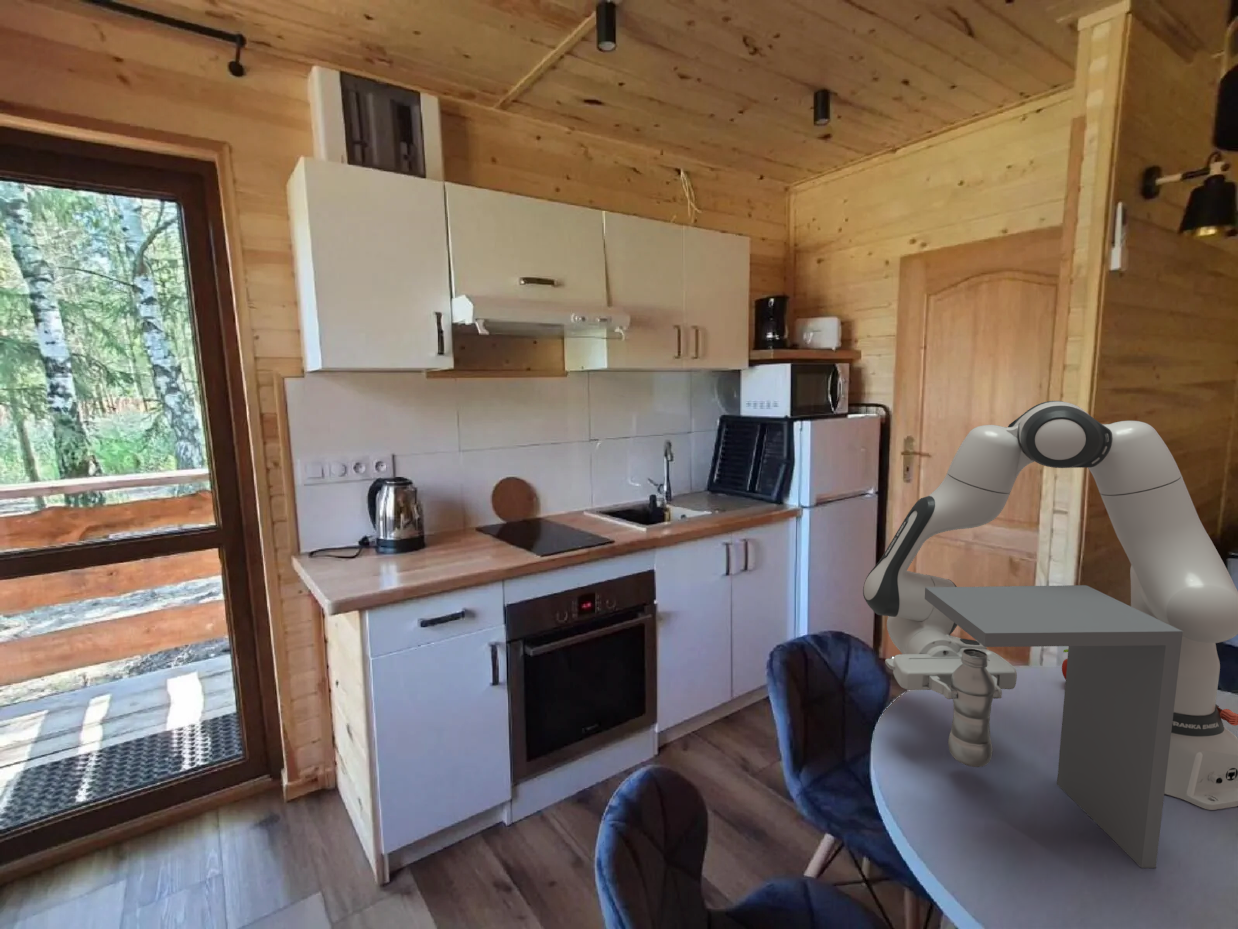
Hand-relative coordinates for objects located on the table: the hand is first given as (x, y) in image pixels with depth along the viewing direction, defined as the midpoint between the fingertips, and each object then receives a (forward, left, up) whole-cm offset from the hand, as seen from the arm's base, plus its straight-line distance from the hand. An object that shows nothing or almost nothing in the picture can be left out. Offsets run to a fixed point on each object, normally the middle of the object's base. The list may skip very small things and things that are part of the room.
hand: (975, 695), depth 103 cm
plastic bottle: (0, -1, -13) cm, 13 cm away
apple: (-40, -31, -17) cm, 53 cm away
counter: (-4, +9, -17) cm, 19 cm away
